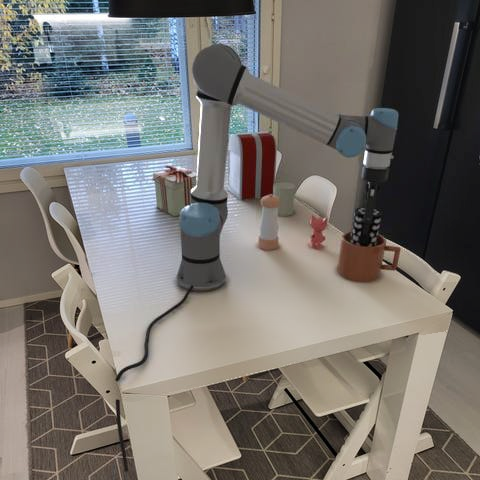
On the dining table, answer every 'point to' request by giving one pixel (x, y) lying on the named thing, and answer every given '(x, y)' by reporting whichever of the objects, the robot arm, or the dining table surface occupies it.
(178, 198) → the gift box
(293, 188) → the can
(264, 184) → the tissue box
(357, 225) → the white-spotted black cylinder
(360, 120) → the robot arm
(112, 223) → the dining table surface
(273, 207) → the pepper shaker
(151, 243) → the dining table surface
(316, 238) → the cat figurine
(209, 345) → the dining table surface
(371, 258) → the terracotta coffee mug
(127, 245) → the dining table surface
